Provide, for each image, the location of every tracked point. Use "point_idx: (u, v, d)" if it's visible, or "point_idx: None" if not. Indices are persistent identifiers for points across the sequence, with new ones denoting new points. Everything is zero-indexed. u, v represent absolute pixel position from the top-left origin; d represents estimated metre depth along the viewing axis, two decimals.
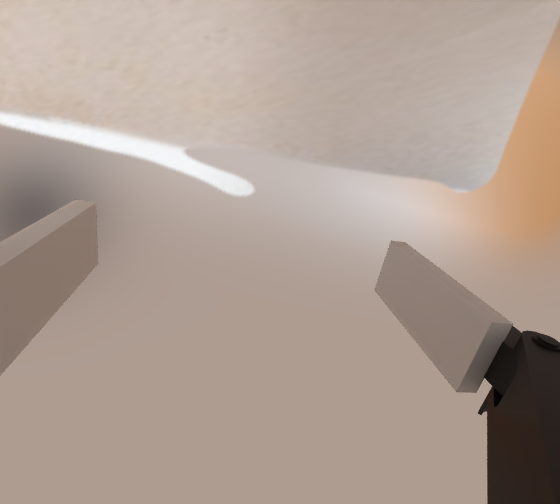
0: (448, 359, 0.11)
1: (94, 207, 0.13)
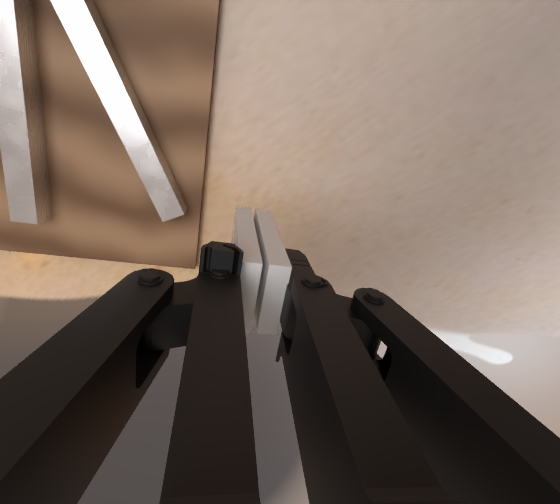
0: (257, 306, 0.12)
1: None
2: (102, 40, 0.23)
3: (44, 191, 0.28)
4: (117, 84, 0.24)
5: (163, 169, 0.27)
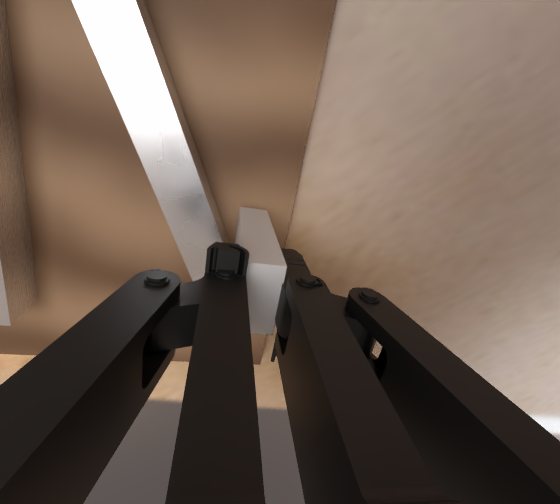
0: None
1: None
2: None
3: (23, 265, 0.16)
4: (154, 83, 0.12)
5: (221, 237, 0.15)
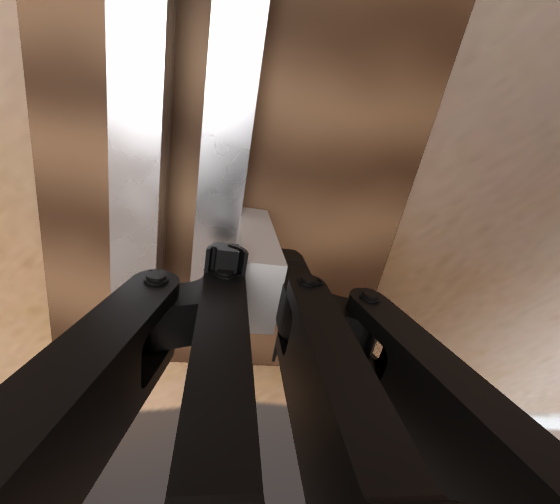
0: None
1: None
2: (262, 51, 0.12)
3: None
4: (243, 127, 0.13)
5: None
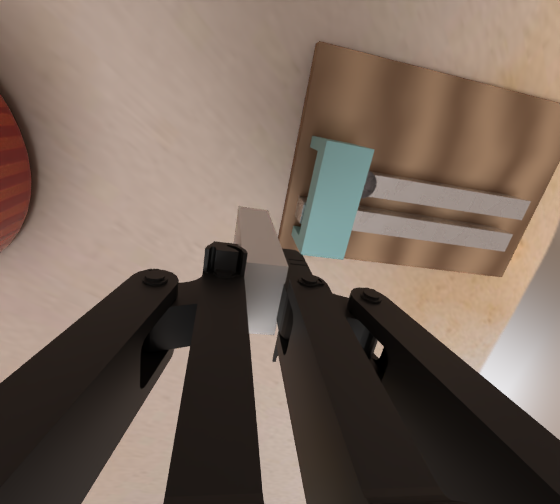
0: None
1: None
2: (409, 181, 0.30)
3: (482, 226, 0.35)
4: (435, 189, 0.30)
5: (494, 195, 0.32)
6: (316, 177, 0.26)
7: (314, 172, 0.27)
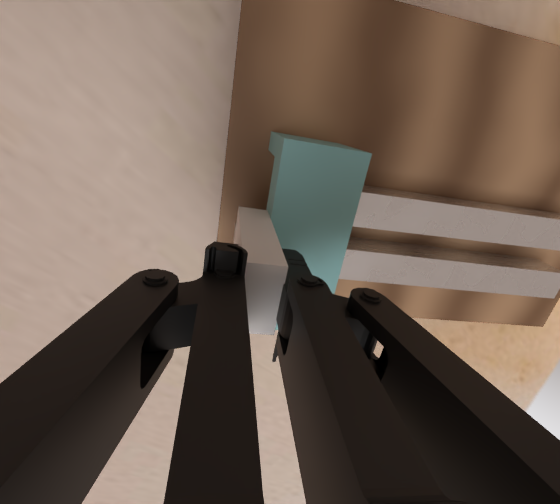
0: None
1: None
2: (408, 198, 0.18)
3: (520, 260, 0.23)
4: (450, 210, 0.19)
5: (544, 217, 0.20)
6: (271, 203, 0.15)
7: (270, 193, 0.16)
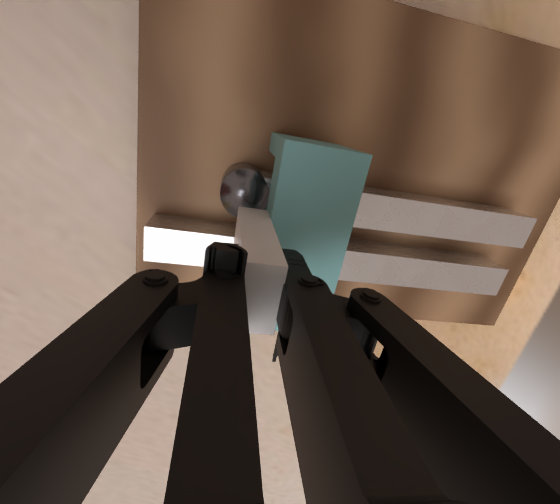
0: None
1: None
2: None
3: (461, 256, 0.22)
4: (375, 201, 0.18)
5: (478, 209, 0.19)
6: (271, 203, 0.15)
7: (270, 194, 0.16)
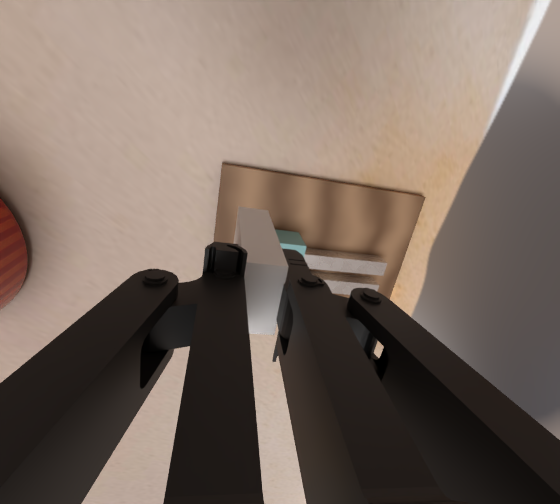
0: None
1: None
2: None
3: (359, 278, 0.47)
4: (313, 257, 0.43)
5: (359, 259, 0.44)
6: None
7: None
